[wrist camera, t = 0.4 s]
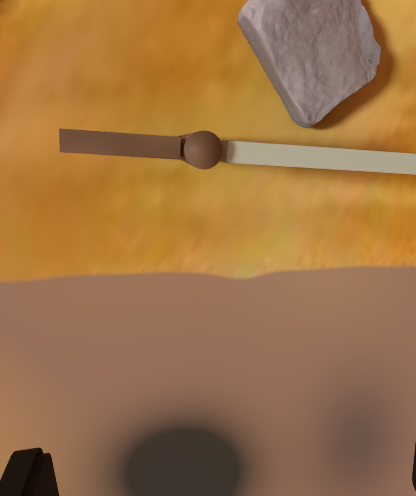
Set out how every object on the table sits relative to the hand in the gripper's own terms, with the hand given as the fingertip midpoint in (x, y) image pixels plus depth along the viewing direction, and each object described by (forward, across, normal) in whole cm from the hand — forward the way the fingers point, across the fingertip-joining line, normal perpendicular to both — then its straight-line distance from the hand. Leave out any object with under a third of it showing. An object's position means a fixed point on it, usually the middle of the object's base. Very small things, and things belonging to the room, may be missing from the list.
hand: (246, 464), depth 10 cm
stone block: (+30, -14, -16) cm, 37 cm away
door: (+29, -10, -6) cm, 31 cm away
